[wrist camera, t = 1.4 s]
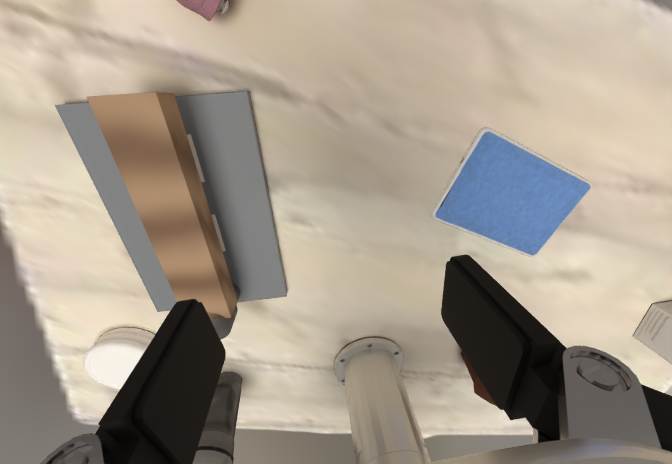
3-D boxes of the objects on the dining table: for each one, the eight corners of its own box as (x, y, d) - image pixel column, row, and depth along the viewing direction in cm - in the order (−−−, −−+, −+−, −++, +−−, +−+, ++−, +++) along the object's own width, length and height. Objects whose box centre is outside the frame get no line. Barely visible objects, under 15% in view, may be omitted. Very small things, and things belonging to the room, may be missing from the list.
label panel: (287, 291, 38) (285, 311, 34) (162, 305, 37) (145, 328, 33) (249, 92, 26) (239, 89, 23) (65, 105, 25) (23, 104, 22)
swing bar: (243, 319, 34) (237, 337, 31) (204, 323, 33) (195, 342, 31) (174, 93, 22) (155, 92, 19) (113, 98, 22) (86, 96, 19)
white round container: (122, 375, 42) (107, 397, 39) (84, 333, 38) (64, 354, 35) (181, 362, 42) (171, 382, 39) (150, 319, 38) (136, 338, 35)
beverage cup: (211, 363, 43) (142, 546, 25) (254, 370, 45) (219, 545, 27) (203, 390, 46) (136, 572, 28) (244, 395, 47) (207, 570, 30)
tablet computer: (425, 214, 35) (429, 218, 34) (479, 124, 31) (486, 124, 30) (527, 254, 40) (534, 259, 39) (587, 181, 36) (596, 184, 34)
